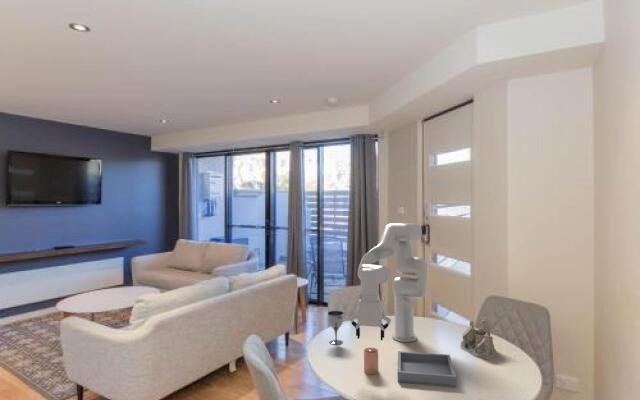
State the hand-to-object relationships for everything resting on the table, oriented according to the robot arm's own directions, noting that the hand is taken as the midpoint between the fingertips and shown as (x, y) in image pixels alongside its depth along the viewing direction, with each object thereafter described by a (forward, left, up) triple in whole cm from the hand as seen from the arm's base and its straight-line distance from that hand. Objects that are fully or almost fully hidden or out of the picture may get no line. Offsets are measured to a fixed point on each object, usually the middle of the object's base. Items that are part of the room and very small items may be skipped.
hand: (370, 338), depth 153 cm
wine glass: (-29, -20, -14) cm, 38 cm away
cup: (-1, 0, -14) cm, 14 cm away
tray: (-4, +22, -14) cm, 27 cm away
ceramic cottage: (-30, +48, -15) cm, 58 cm away
